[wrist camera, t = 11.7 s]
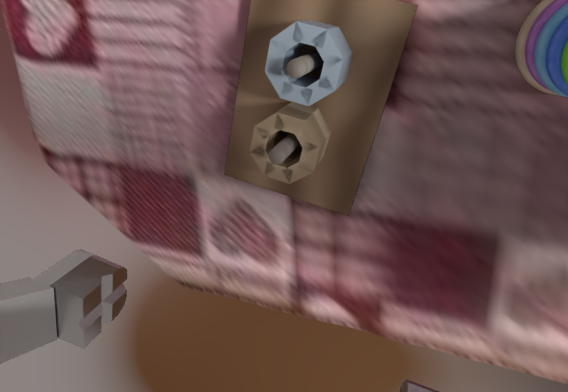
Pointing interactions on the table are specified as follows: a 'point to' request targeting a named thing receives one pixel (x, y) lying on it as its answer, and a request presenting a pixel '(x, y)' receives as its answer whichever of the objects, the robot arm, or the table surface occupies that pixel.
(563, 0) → the stacking toy
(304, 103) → the loose gear
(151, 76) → the table surface
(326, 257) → the table surface
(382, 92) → the gear board
